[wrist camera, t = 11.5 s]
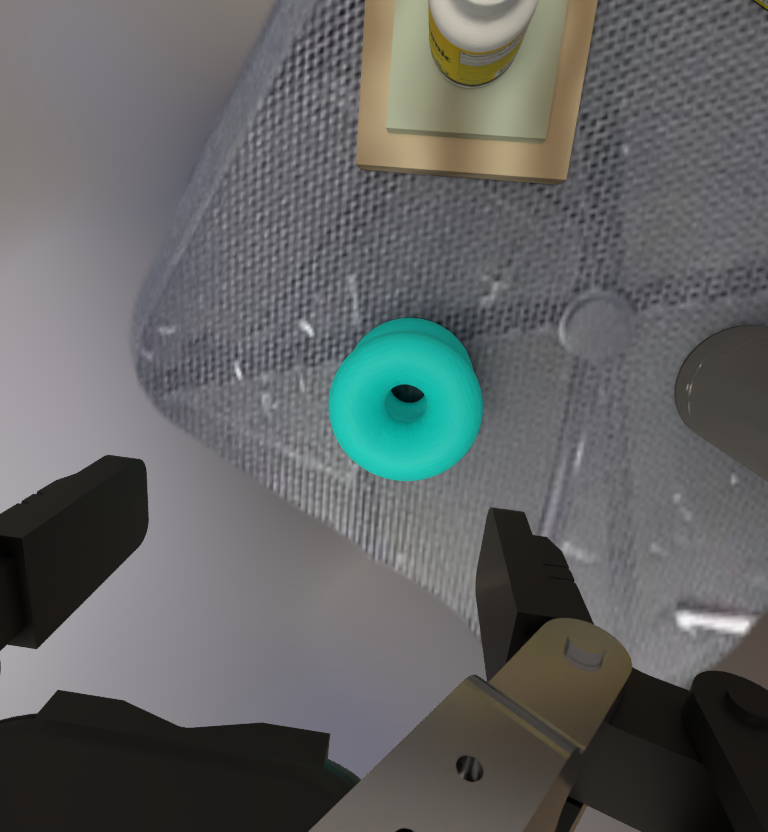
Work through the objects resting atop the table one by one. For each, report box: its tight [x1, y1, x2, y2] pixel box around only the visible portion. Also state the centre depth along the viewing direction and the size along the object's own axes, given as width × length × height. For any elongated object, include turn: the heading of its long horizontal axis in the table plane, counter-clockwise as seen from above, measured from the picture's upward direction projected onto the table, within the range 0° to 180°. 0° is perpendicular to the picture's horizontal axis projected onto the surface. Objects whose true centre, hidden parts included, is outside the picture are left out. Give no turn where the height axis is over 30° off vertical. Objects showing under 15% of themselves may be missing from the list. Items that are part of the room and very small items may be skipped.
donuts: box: [329, 318, 483, 481], centre depth 36 cm, size 10×10×10 cm
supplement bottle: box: [428, 0, 539, 88], centre depth 26 cm, size 5×5×10 cm
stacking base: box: [356, 0, 598, 185], centre depth 32 cm, size 14×14×4 cm
